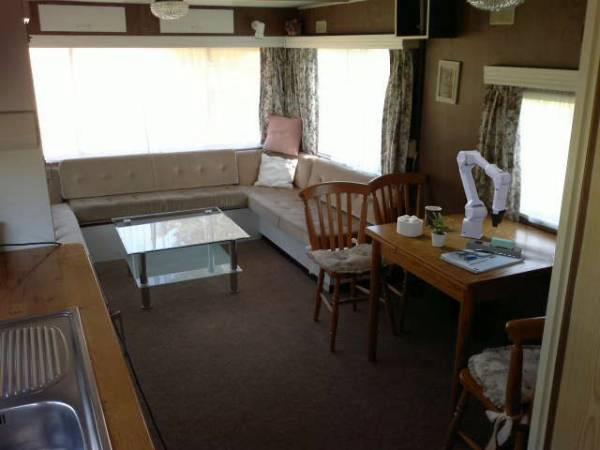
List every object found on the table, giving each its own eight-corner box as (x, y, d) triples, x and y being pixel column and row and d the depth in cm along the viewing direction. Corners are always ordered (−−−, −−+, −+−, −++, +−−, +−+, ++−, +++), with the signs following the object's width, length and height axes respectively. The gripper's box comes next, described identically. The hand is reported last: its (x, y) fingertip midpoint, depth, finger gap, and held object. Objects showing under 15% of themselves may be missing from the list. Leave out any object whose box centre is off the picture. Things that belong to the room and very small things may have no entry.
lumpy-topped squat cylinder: (412, 237, 277) (413, 221, 274) (391, 231, 286) (393, 215, 283) (424, 234, 283) (425, 217, 281) (404, 228, 293) (405, 212, 290)
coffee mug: (427, 222, 303) (428, 205, 300) (442, 225, 298) (444, 207, 296) (418, 227, 294) (420, 209, 291) (433, 230, 289) (435, 212, 286)
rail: (465, 248, 262) (466, 242, 261) (469, 245, 267) (469, 239, 266) (518, 258, 250) (519, 251, 250) (521, 254, 255) (522, 248, 255)
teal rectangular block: (490, 249, 258) (491, 238, 256) (491, 248, 260) (492, 237, 259) (512, 253, 253) (513, 242, 252) (513, 252, 255) (515, 241, 254)
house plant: (415, 241, 270) (417, 209, 266) (438, 238, 275) (441, 207, 271) (432, 250, 258) (435, 217, 253) (456, 247, 263) (459, 214, 258)
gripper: (505, 202, 254) (502, 230, 258) (511, 196, 266) (508, 223, 270) (490, 199, 258) (486, 227, 262) (496, 194, 270) (493, 220, 274)
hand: (496, 225), depth 266 cm, fingers open, 7 cm apart
